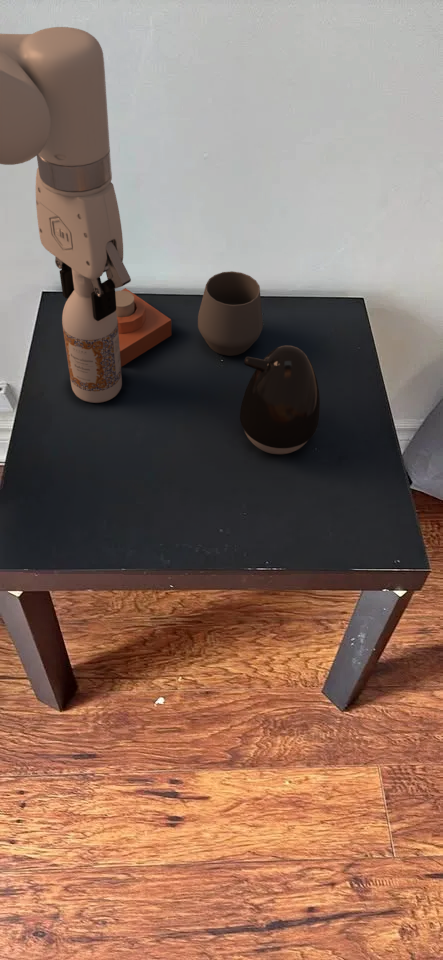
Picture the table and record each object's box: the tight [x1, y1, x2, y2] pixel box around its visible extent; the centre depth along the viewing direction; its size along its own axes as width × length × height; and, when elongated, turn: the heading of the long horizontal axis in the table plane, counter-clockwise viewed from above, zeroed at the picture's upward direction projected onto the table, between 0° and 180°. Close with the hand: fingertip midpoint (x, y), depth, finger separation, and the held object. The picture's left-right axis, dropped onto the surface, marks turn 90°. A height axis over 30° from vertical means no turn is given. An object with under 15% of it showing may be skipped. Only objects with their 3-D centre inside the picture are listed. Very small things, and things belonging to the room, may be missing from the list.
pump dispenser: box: [239, 344, 321, 455], centre depth 94 cm, size 10×10×15 cm
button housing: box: [117, 287, 172, 368], centre depth 109 cm, size 10×10×5 cm
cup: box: [197, 270, 264, 357], centre depth 107 cm, size 10×9×10 cm
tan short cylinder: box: [115, 290, 135, 317], centre depth 107 cm, size 4×4×2 cm
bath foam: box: [61, 269, 123, 404], centre depth 96 cm, size 7×7×20 cm
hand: (89, 302), depth 92 cm, fingers open, 5 cm apart
